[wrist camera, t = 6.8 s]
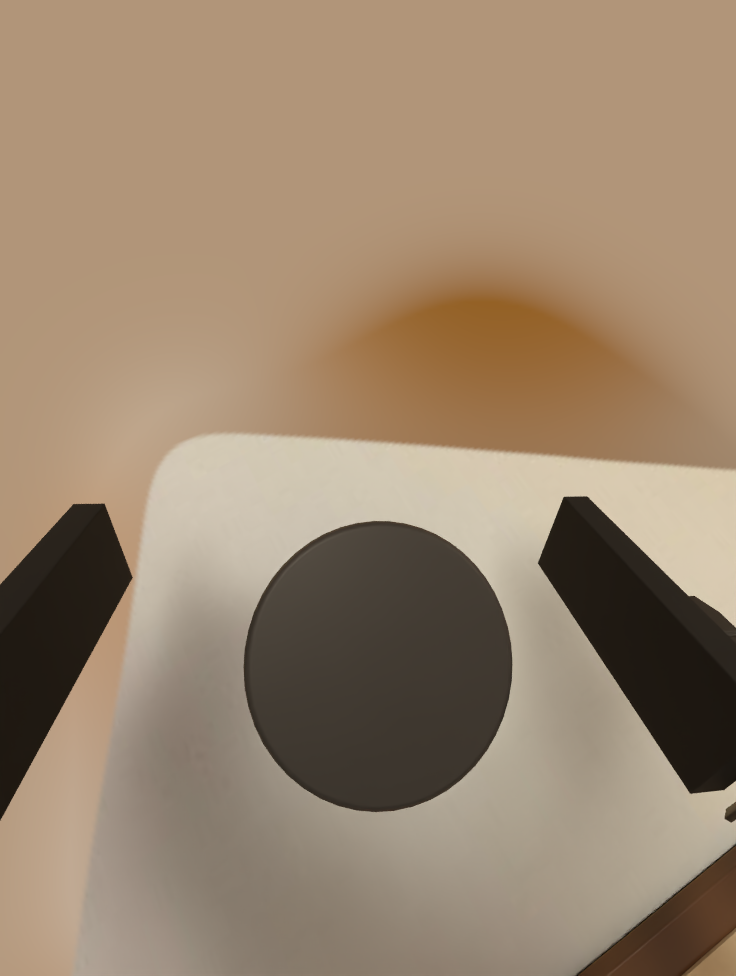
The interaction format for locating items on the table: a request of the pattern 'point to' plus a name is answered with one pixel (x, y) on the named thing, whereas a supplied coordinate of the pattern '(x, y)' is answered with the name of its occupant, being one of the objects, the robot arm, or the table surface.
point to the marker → (378, 666)
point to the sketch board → (683, 932)
